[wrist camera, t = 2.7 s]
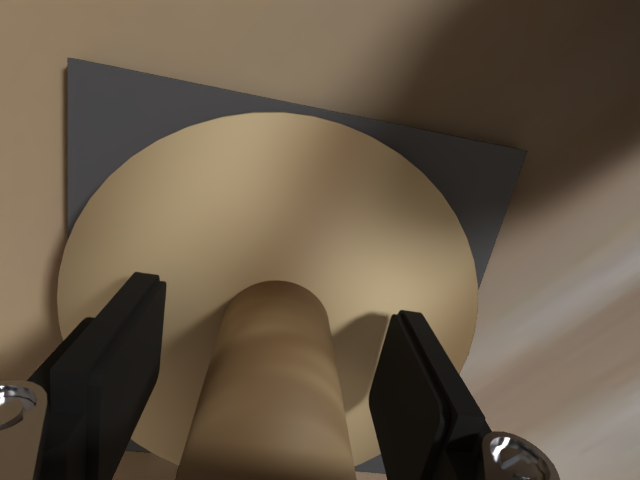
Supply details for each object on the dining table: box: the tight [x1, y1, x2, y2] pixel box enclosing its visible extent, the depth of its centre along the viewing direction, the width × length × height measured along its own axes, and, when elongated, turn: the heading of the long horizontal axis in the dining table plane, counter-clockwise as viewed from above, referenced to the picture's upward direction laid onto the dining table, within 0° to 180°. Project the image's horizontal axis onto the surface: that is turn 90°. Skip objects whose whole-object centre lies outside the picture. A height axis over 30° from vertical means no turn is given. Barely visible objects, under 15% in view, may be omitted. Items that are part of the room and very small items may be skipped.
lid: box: [57, 112, 478, 480], centre depth 10 cm, size 12×12×6 cm
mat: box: [68, 58, 527, 474], centre depth 13 cm, size 12×12×1 cm
